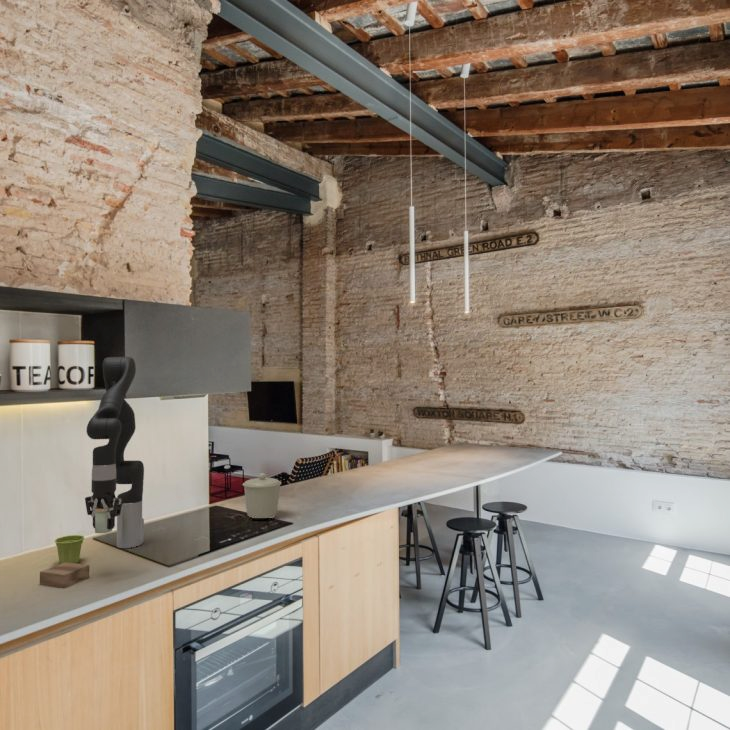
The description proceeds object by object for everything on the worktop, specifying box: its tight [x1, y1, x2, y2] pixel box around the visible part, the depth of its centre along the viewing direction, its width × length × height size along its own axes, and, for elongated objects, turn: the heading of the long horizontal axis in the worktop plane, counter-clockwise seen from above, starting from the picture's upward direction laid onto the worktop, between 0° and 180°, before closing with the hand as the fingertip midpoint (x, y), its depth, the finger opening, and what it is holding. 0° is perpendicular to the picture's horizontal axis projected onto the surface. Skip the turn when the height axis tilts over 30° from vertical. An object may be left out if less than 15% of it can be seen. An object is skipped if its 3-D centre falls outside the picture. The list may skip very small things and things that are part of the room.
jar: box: [94, 507, 113, 534], centre depth 184 cm, size 5×5×8 cm
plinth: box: [39, 562, 90, 589], centre depth 178 cm, size 10×10×4 cm
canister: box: [242, 472, 282, 518], centre depth 259 cm, size 18×18×21 cm
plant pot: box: [54, 534, 85, 565], centre depth 196 cm, size 9×9×9 cm
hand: (103, 528), depth 184 cm, fingers closed on jar, 5 cm apart
